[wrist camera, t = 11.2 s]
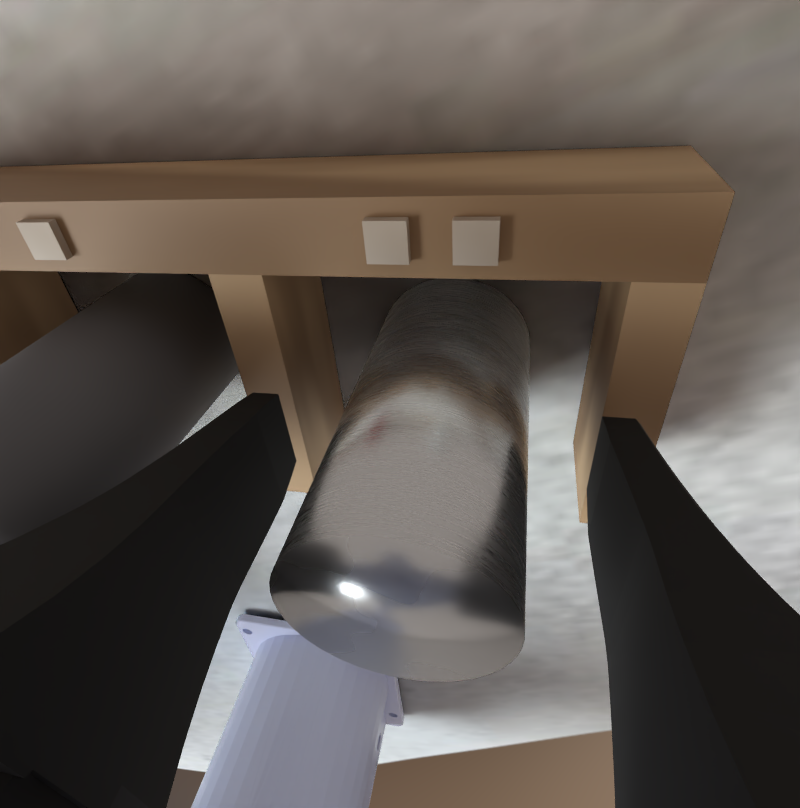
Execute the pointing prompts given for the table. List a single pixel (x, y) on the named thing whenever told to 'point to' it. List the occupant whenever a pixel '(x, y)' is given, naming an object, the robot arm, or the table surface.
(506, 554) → the grey rod
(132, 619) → the robot arm
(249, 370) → the rack
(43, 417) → the dark grey cylinder
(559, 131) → the table surface
